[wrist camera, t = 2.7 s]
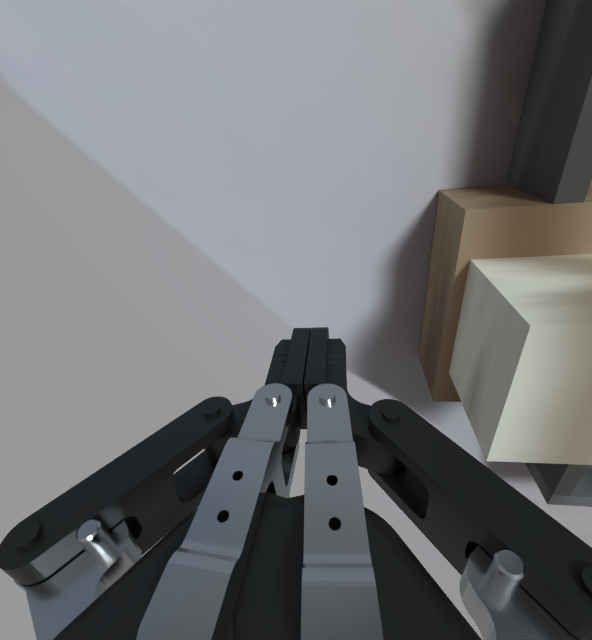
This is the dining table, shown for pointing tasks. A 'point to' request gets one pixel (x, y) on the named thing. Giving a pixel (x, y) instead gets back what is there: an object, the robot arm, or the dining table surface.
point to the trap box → (523, 210)
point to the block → (527, 358)
